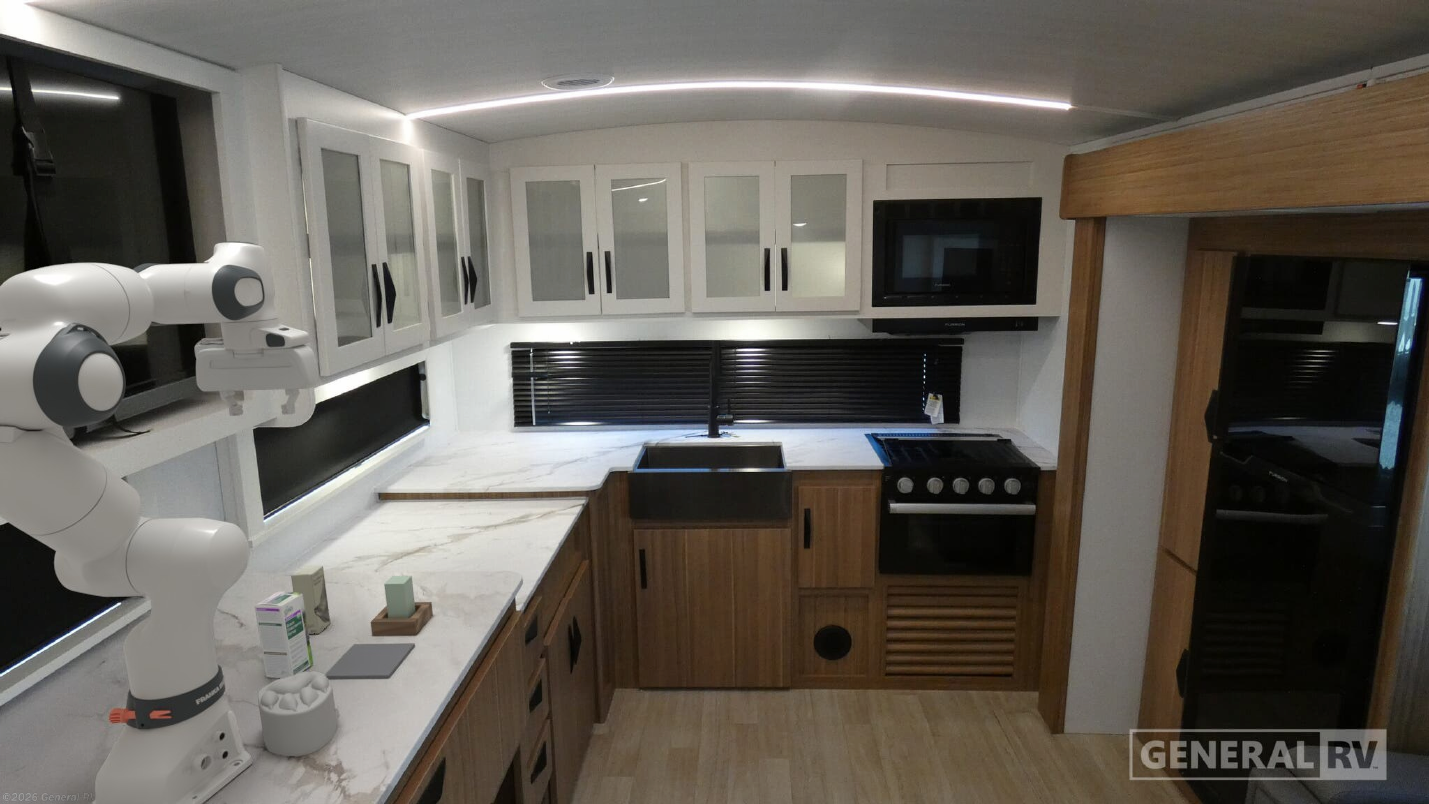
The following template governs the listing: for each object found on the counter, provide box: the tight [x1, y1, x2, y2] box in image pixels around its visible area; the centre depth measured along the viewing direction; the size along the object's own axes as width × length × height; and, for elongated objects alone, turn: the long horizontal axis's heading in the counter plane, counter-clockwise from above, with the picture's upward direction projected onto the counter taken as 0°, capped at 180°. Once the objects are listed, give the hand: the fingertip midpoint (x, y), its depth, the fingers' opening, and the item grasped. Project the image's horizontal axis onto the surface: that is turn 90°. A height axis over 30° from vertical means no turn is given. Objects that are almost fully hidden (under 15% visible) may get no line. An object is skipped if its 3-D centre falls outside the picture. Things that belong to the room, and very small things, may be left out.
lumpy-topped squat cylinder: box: [257, 671, 338, 758], centre depth 132 cm, size 10×13×9 cm
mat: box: [324, 642, 416, 680], centre depth 155 cm, size 12×12×1 cm
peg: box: [384, 575, 416, 618], centre depth 169 cm, size 4×4×10 cm
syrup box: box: [254, 591, 314, 679], centre depth 152 cm, size 6×6×14 cm
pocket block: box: [370, 601, 434, 637], centre depth 170 cm, size 9×9×3 cm
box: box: [290, 565, 331, 635], centre depth 169 cm, size 5×4×13 cm
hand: (262, 414), depth 146 cm, fingers open, 8 cm apart
